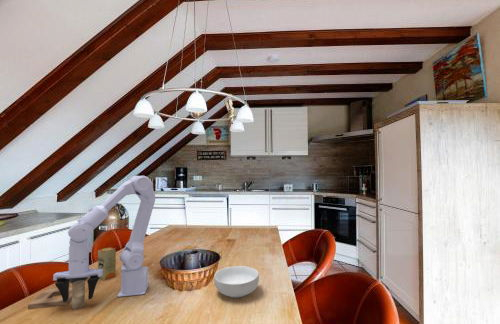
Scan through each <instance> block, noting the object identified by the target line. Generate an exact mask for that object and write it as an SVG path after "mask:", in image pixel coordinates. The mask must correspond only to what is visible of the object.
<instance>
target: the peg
mask: <svg viewBox="0 0 500 324" xmlns="http://www.w3.org/2000/svg"><path fill="white" fill-rule="evenodd" d="M71 285H72V286H71V287H72V301H71V309H72V310H78V309H81V308H84V307H85V304H86V303H85V301H86V300H85V299H86V298H85V295H86V294H85V293H86V280H84V281H83V280H81V281H76V282H74V283H71Z"/></svg>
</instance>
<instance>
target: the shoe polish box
mask: <svg viewBox="0 0 500 324" xmlns="http://www.w3.org/2000/svg"><path fill="white" fill-rule="evenodd" d="M116 253H117V249H116V248H115V247H110V246H108V247H105V248H101V249H98V250H97V269H103V275H102V276H101V277H100V278H99V280H102V281H104V282H105V281H107V280H110V279H113V278H115V277H116V272H117V271H116V270H117V268H116V264H117V263H116V262H117V261H116V260H117V258H116V257H117V255H116Z"/></svg>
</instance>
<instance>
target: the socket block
mask: <svg viewBox="0 0 500 324" xmlns="http://www.w3.org/2000/svg"><path fill="white" fill-rule="evenodd" d="M71 303H72V286H69V298H68V300H67V301H66V302H63V299H62V296H61V293H60V291H59V289H58V288H57V287H54V288H47V289H46V290H45V291H43V292H42V293H41V294H40V295H38V296H37V297H36V298H34V299H33V300H32V301H31V302H29V303H28V304H27V309H28V310H32V309H43V308H51V307H52V308H53V307H61V306H68V305H70V304H71Z"/></svg>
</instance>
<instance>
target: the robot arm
mask: <svg viewBox="0 0 500 324" xmlns="http://www.w3.org/2000/svg"><path fill="white" fill-rule="evenodd" d="M133 194H135V195H136V196H137V197H138V198H139V200H140V202H139V206H138V209H137V213H136V216H135V219H134V224H133V225H132V230H131V233H130V237H129V240H128V241H127V243H126V244H125V246H124V248H123V250H122V251H121V252H120V255H119V260H120V261H121V263H122V265H121V267H120V291H119V292H118V294H117V298H119V297H129V296H140V295H145V294H146V292H147V289H148V288H149V266H144V265H143V264H144V259H145V258H144V251H145V247H144V241H145V238H146V235H147V230H148V226H149V224H150V221H151V220H150V219H151V216H152V214H153V213H152V212H153V210H154V205H155V201H156V193H155V191H154V183H153V181H152V180H151V179H150V178H149V177H148V176H147V175H146V176H145V175H133V176H130V177H129V179H128V180H126V181H124V182H123V183H122V184H121V185H120V186H118V188H117V189H116V190H115V191H114V192H113V193H112V194H111V195H109V197H108V198H107V199H105V201H104V202H103V203H102V204H100V205H94V206H93V207H92V206H90V207H89V208H88V212H87V213H85V215H83V217H81V218H77V220H76V221H77V222H75V223H73V224H71V226H70V227H69V229H68V231H67V234H68V236H69V242H68V243H69V246H68V270H67V271H58V272H55V273H54V274H53V275H52V276H53V277H52V278H53V279H52V281H56V282H55V283H54V286H55V288H58V289H59V291H60V293H61V295H60V297H62V299H63V302H66V301H67V300H68V298H69V287H70V283H71V282H70V278H82V277H88V278H87V279H86V280H87V281H86V282H87V288H88V295H87V299H88V300H92V299H93V298H94V294H95V290H96V286H97V284H98V281H99V280H100V279H99V278H100V277H101V276H102V275H103V269H98V268H89V267H90V266H89V265H90V263H89V261H90V259H89V258H90V254H89V253H90V243H89V238H90V237H91V234H92V231H94V230H96V228H97V227H99V225H100V224H101V223H103V221H105V220H106V219H107V218H108V217H109V211H110V210H111V209H112V208H113V207H115V206H116V205H117V204H118V203H119V202H120V201H121V200H123V199H124V198H125V197H126V196H130V195H133Z"/></svg>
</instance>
